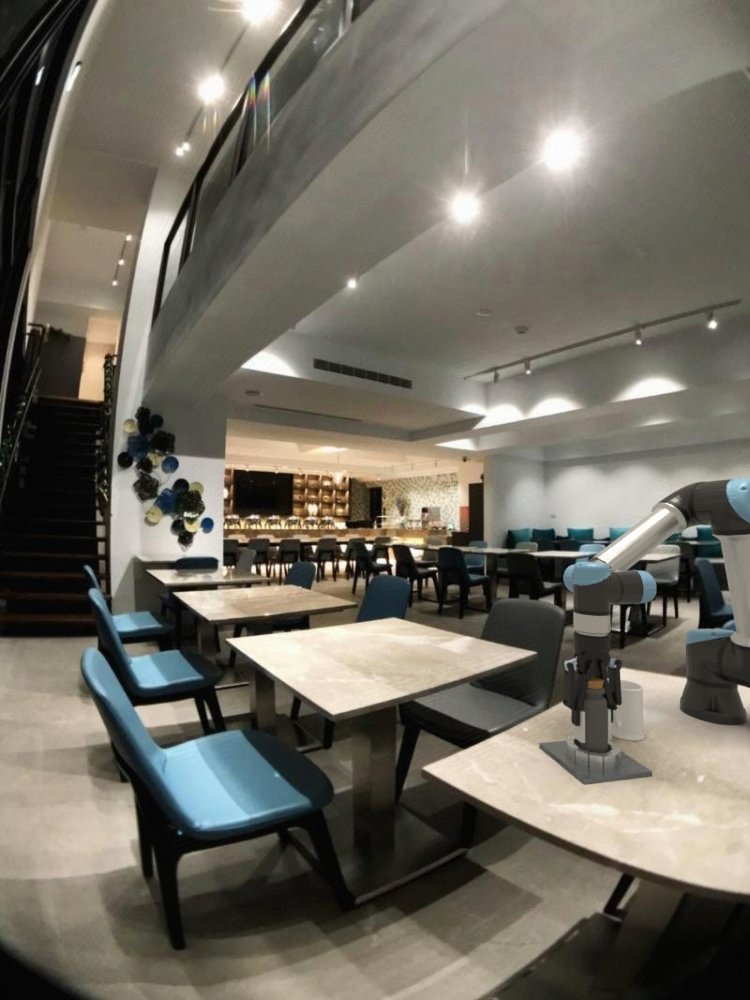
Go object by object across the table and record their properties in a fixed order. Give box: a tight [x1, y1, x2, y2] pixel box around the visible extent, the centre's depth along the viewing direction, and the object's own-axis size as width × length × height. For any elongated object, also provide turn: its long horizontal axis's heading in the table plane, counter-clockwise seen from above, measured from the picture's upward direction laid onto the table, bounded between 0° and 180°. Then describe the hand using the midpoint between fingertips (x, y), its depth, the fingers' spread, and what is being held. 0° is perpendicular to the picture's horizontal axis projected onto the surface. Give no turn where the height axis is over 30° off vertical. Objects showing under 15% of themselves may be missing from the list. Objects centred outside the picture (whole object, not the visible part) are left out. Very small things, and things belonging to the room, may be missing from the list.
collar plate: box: [538, 734, 653, 785], centre depth 105 cm, size 16×16×4 cm
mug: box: [608, 679, 646, 742], centre depth 118 cm, size 12×8×12 cm
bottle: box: [579, 676, 608, 753], centre depth 105 cm, size 6×6×15 cm
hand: (592, 738), depth 105 cm, fingers closed on bottle, 6 cm apart
